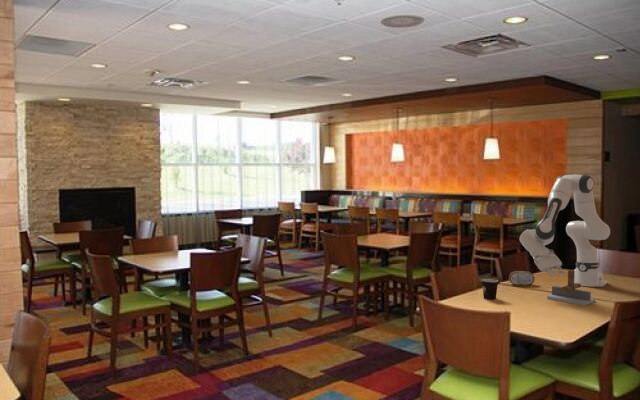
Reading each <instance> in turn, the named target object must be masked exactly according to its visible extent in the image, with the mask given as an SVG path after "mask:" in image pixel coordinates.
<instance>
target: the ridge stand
mask: <svg viewBox="0 0 640 400" xmlns="http://www.w3.org/2000/svg"><path fill="white" fill-rule="evenodd" d="M561 287H562V286H555V285H552V286H551V294H549V295H547V296H546V299H547V298H548V300H551V299H552V300H551V301H558V302H564V303H569V304H574V305H580V306H587V305H590V304H592V303H594V302H596V298H593V297H592V292H591V291H586V290H581V289H577V288H576V289H573V290H570V291H567V292H563V291H561Z"/></svg>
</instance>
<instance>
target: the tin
mask: <svg viewBox="0 0 640 400" xmlns="http://www.w3.org/2000/svg"><path fill="white" fill-rule="evenodd" d="M508 281H509V282H510V283H511V284H512V285H515V286H531V285H533V283H534V282H535V276H534V274H533V273H532V272H531V271H527V270H525V271H524V270H522V271H521V270H515V271H511V272H510V273H509V275H508Z"/></svg>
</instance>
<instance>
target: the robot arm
mask: <svg viewBox="0 0 640 400" xmlns="http://www.w3.org/2000/svg"><path fill="white" fill-rule="evenodd" d="M594 187H595V181H594V179H593V178H592V176H590V175H587V174H577V173H576V174H575V173H573V174H561V175H558V176H557V178H556V179H555V180H554V184H553V186H552V187H551V190H550V193H549V195H548V199H547V208H546V211H545V213H544V215H543V218H542V219H541V220H540V221H539V222H537V224H536V226H535V229H529V228H527V229H525V230H523V232H522V233H520V235H519V238H518V239H519V242H520V243H521V245H522V246H523V247H524V249H525V250H526V251H527V252H529V254H530V256H531V257H532V258H533V260H534V261H533V262H534V264H535V266H536V267H537V268H538V270H539V271H541V272H546V273H547V274H549V276H551V277H555V276H556V273H555V271H552V270H554V269H556V270H557V271H558V273H559V275H563V274H564V270H563V269H562V267H561V266H562V265H563V262H562V261H561V260H560V258H559V257H558V256H557V254H555V252H554V250H553V249H549V248H548V247H546V246H547V245H549V244H551V243H552V242H553V241H554V238H555V233H556V225H555V224H556V220H557V217H558V216H559V215H558V214H559V212H560V211H563V210H564V209H565V208H566V207H567V206H568V204H569V202H570V199H571V196H572V194H573V203H574V212H575V214H576V215H577V216H579V217H580V218H581V219H582V220H573V221H568V223H567V224H566V226H565V232H566V234H567V236H568V237H570V239H571V240H572V241H573V243H574V245H575V248H576V260H575V261H576V262H575V269H574V270H573V271H575V276H574V283H581V287H595V288H596V287H599V288H601V287H603V288H604V286H606V285H607V284H608V281H607V280H604V274H603V272H602V271H601V269H600V268H599V266H600V261H598V250H597V248H596V247H595V246H594V245H592V244H591V243H590V241H589V240H593V241H602V240H607V239H608V238H609V237H610V235H611V228H610V226H609V225H608V224H607V223H606V222H604V221H603V220H602V218H600V216H599V214H598V212H597V208H596V202H595V195H594V191H593V189H594Z"/></svg>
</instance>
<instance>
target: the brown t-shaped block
mask: <svg viewBox="0 0 640 400" xmlns="http://www.w3.org/2000/svg"><path fill="white" fill-rule="evenodd" d="M574 276H575V271H574V270H572V269H571V270H570V269H569V270H567V285H565V286H560V287H561V291H563V292H567V291H570V290H573V289H576V290H577V289H579V288H581V287H582V286H581V283H574Z"/></svg>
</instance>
